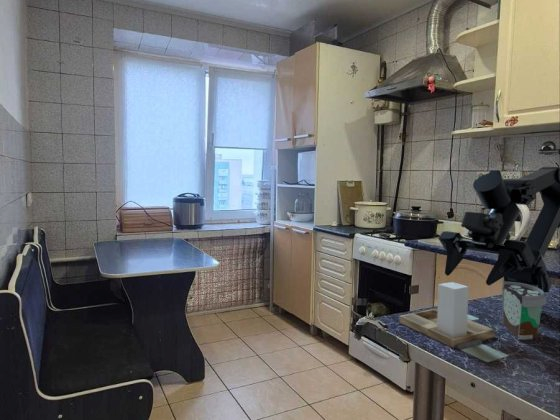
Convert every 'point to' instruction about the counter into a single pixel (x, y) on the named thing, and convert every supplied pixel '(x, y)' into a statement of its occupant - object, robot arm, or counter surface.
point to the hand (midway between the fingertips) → (465, 279)
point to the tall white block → (452, 309)
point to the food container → (522, 309)
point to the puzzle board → (469, 343)
